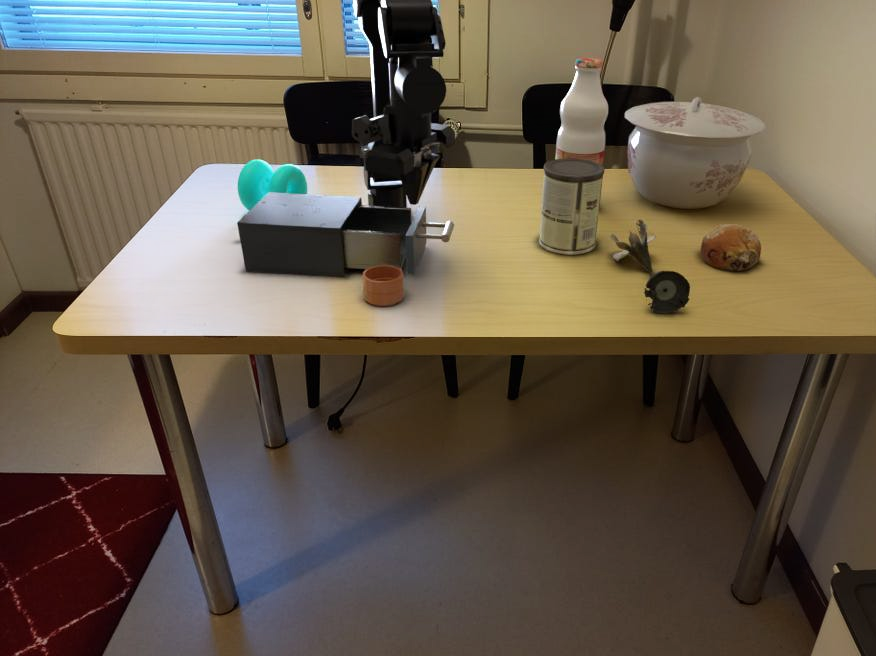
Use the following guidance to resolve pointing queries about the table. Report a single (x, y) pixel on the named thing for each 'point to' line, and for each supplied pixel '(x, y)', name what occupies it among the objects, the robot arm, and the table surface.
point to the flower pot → (383, 285)
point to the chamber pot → (688, 151)
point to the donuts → (268, 181)
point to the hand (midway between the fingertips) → (413, 203)
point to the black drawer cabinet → (296, 234)
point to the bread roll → (731, 248)
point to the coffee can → (570, 205)
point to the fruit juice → (583, 115)
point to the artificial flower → (664, 285)
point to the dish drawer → (388, 237)
